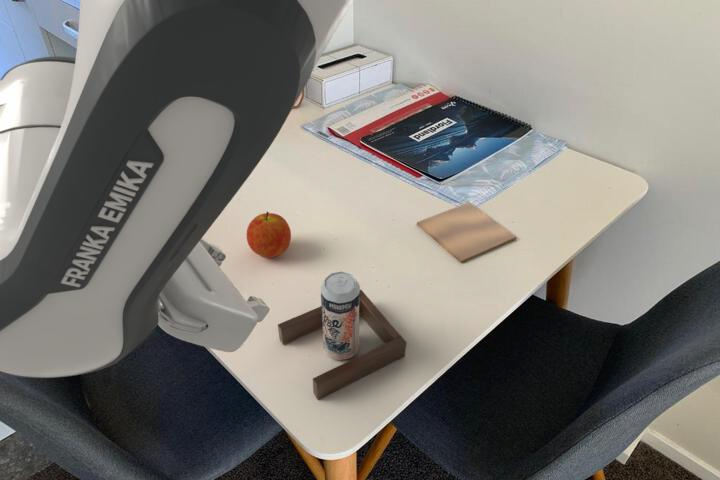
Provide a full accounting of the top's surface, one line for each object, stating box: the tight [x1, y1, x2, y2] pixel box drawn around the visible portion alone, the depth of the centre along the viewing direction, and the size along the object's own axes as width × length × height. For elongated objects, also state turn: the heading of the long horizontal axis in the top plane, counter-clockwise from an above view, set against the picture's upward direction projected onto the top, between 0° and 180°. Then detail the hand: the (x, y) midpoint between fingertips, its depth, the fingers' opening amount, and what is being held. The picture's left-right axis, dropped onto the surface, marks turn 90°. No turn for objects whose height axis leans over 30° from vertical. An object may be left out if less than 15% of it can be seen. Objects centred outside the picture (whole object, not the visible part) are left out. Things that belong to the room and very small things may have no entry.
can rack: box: [277, 289, 407, 401], centre depth 69 cm, size 11×13×3 cm
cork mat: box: [416, 202, 517, 264], centre depth 90 cm, size 12×12×1 cm
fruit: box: [246, 211, 292, 259], centre depth 83 cm, size 7×7×8 cm
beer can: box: [319, 271, 361, 361], centre depth 66 cm, size 5×5×12 cm
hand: (240, 283), depth 53 cm, fingers open, 8 cm apart
